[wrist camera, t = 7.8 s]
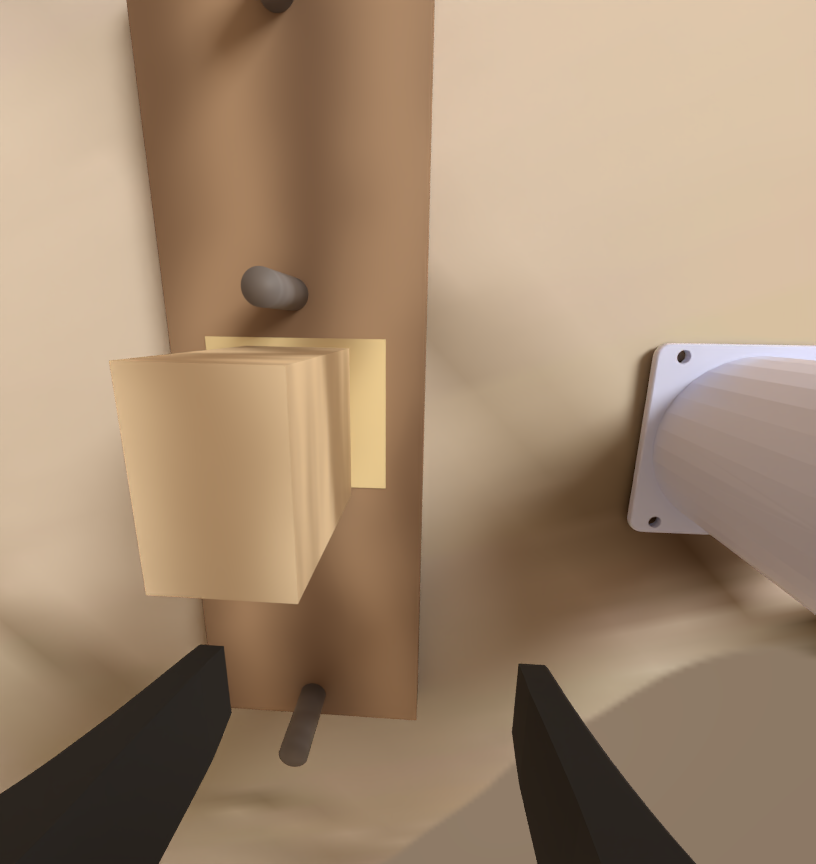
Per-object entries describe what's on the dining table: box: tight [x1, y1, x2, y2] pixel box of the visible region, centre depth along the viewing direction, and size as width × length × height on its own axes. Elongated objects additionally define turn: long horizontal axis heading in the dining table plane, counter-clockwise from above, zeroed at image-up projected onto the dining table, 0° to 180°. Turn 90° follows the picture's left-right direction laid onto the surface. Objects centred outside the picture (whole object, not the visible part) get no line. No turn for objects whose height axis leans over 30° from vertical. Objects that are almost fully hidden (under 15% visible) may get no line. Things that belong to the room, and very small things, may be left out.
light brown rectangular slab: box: [109, 346, 351, 604], centre depth 13 cm, size 4×6×7 cm
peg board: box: [127, 0, 435, 767], centre depth 16 cm, size 10×30×4 cm, turn 179°
